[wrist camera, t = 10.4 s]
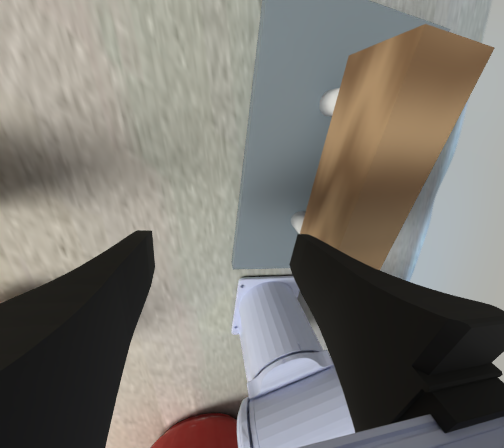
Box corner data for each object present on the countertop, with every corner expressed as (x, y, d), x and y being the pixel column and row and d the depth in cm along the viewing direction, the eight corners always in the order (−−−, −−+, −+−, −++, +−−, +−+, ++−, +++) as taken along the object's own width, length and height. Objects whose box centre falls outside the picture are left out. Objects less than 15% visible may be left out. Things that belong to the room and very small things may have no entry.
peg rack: (342, 260, 26) (361, 281, 23) (231, 262, 22) (236, 286, 19) (434, 34, 16) (490, 15, 13) (264, -23, 13) (285, -69, 10)
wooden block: (334, 248, 20) (371, 286, 15) (295, 248, 19) (323, 288, 14) (401, 69, 13) (494, 47, 9) (348, 55, 13) (425, 23, 8)
